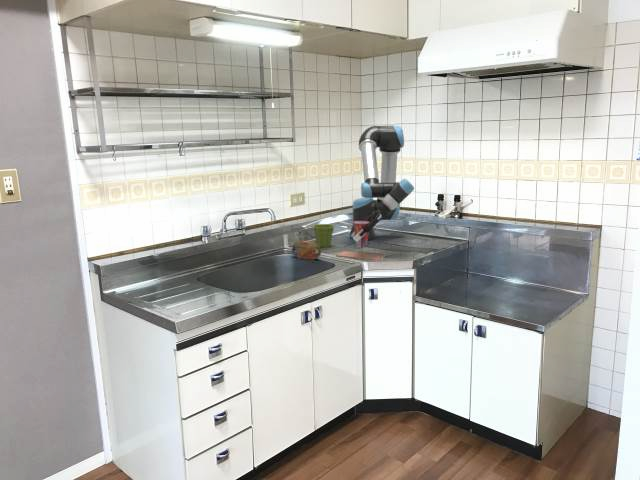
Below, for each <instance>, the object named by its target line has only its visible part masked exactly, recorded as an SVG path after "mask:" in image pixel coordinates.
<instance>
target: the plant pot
mask: <svg viewBox="0 0 640 480" xmlns="http://www.w3.org/2000/svg"><path fill="white" fill-rule="evenodd" d="M312 227H313V231H314V235H315V243H317V244H319V245H320V247H321V248H330V247H331V243H332V238H333V232H334V229H335V225H334V224H327V223H325V224H324V223H319V224H313V225H312Z"/></svg>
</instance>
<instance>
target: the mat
mask: <svg viewBox="0 0 640 480" xmlns="http://www.w3.org/2000/svg"><path fill="white" fill-rule="evenodd" d="M384 256H385V255H377V254H367V253H357V252H347V250H344V251H342V252H339V253H338V254H336V255H335V257H338V258H339V257H340V258H347V259H348V258H350V259H359V260H366V259H370V260H369V261H375V260H378V261H380V260H382V259H383V258H384ZM382 257H383V258H382ZM385 257H386V256H385ZM381 258H382V259H381ZM371 259H372V260H371ZM379 259H380V260H379Z"/></svg>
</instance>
